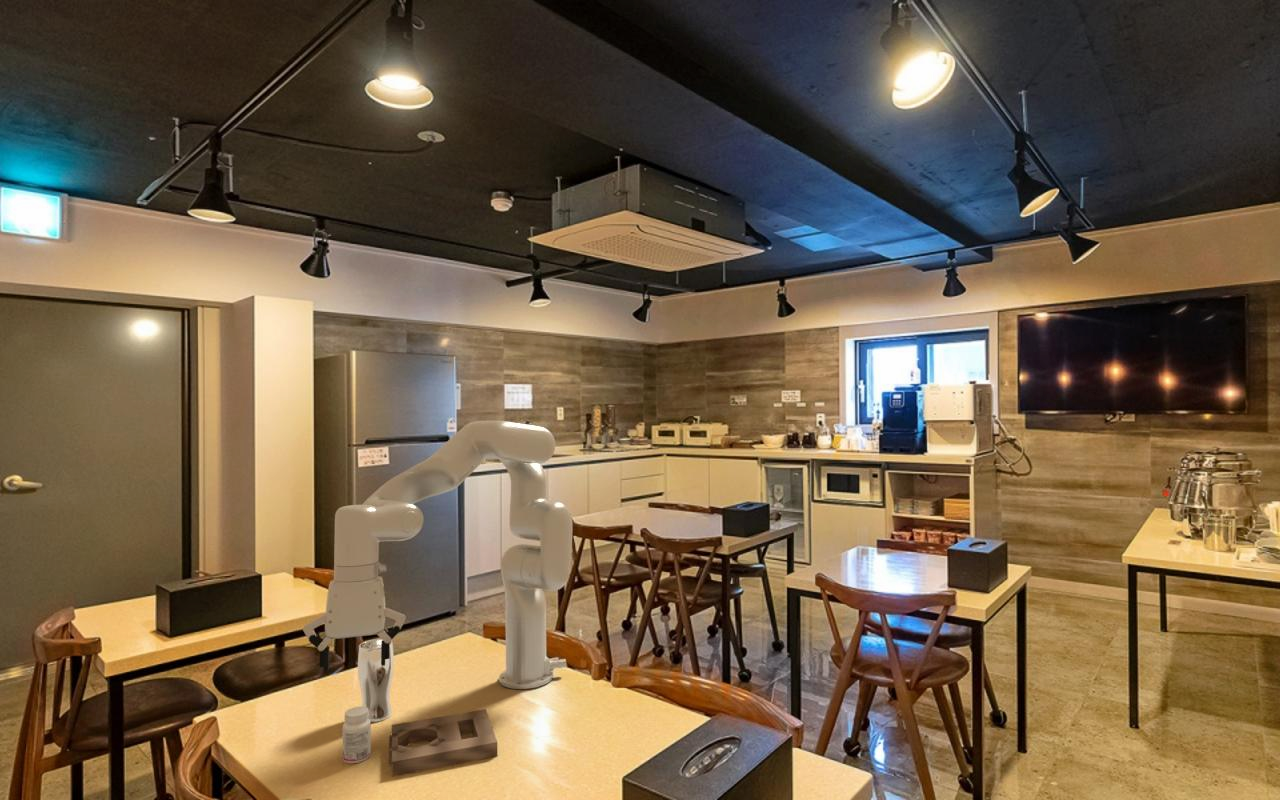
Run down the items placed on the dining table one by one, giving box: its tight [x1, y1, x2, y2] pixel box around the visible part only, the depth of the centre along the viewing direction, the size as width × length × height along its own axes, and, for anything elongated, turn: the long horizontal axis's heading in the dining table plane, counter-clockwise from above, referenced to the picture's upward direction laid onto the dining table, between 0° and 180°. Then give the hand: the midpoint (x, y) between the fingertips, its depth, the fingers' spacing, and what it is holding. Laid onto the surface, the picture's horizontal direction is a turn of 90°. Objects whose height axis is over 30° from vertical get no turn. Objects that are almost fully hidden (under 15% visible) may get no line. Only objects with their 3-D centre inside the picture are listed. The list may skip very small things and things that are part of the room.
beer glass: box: [357, 638, 395, 723], centre depth 137 cm, size 7×7×15 cm
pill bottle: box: [342, 706, 372, 764], centre depth 119 cm, size 5×5×8 cm
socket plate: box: [388, 708, 498, 777], centre depth 123 cm, size 18×15×2 cm
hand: (355, 666), depth 120 cm, fingers open, 9 cm apart
